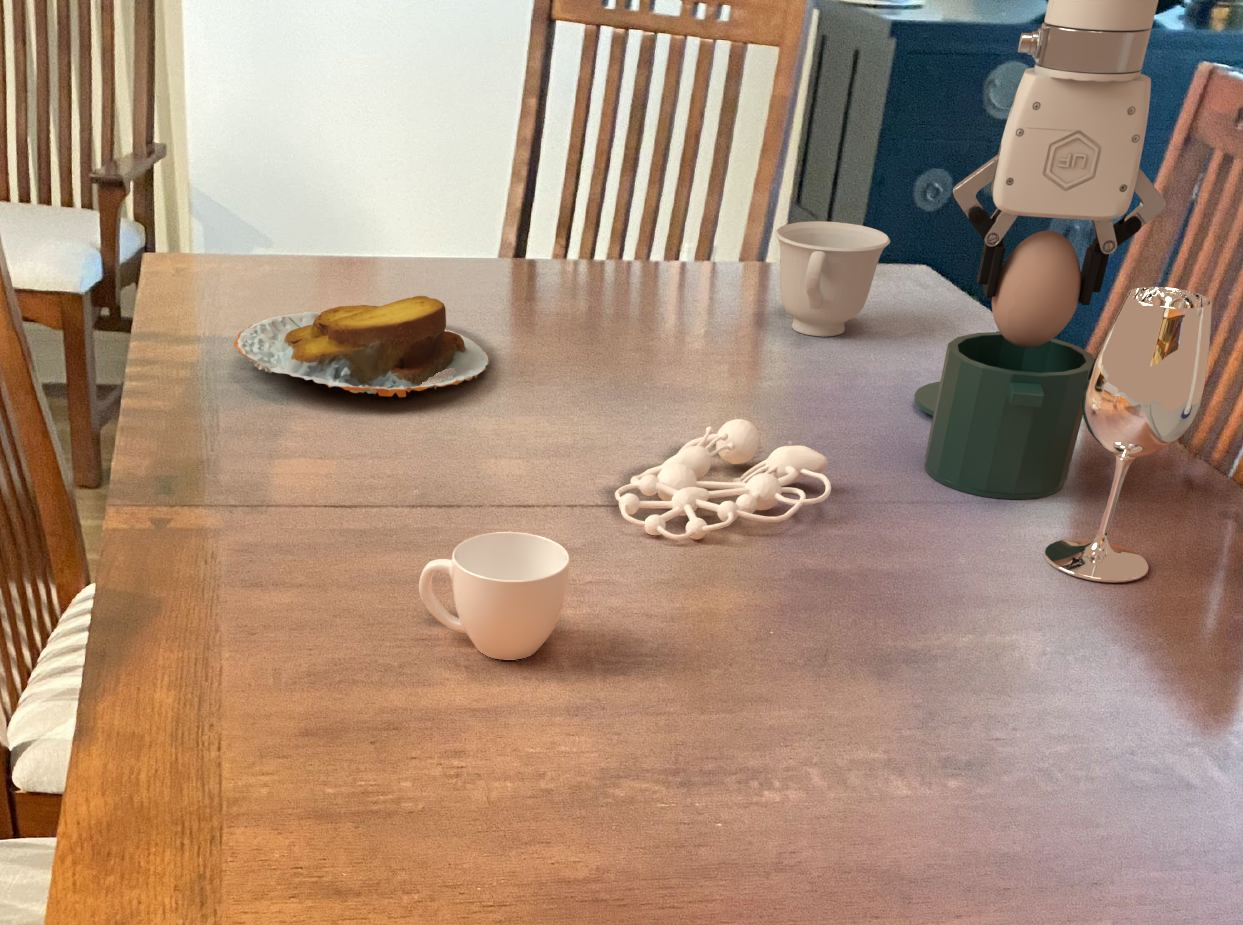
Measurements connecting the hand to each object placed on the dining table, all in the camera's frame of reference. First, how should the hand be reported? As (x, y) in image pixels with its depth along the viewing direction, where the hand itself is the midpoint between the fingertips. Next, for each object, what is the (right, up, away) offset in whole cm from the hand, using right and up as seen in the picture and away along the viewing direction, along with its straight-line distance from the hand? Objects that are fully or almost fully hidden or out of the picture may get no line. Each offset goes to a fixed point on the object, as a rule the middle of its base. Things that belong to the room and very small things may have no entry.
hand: (1035, 295), depth 122 cm
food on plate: (-56, +2, +29) cm, 63 cm away
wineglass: (+2, -23, -6) cm, 24 cm away
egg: (0, -4, +2) cm, 4 cm away
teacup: (-7, +10, +42) cm, 44 cm away
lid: (+3, -3, +21) cm, 22 cm away
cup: (-45, -30, -19) cm, 57 cm away
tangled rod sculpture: (-25, -17, +2) cm, 30 cm away
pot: (0, -13, +9) cm, 15 cm away
